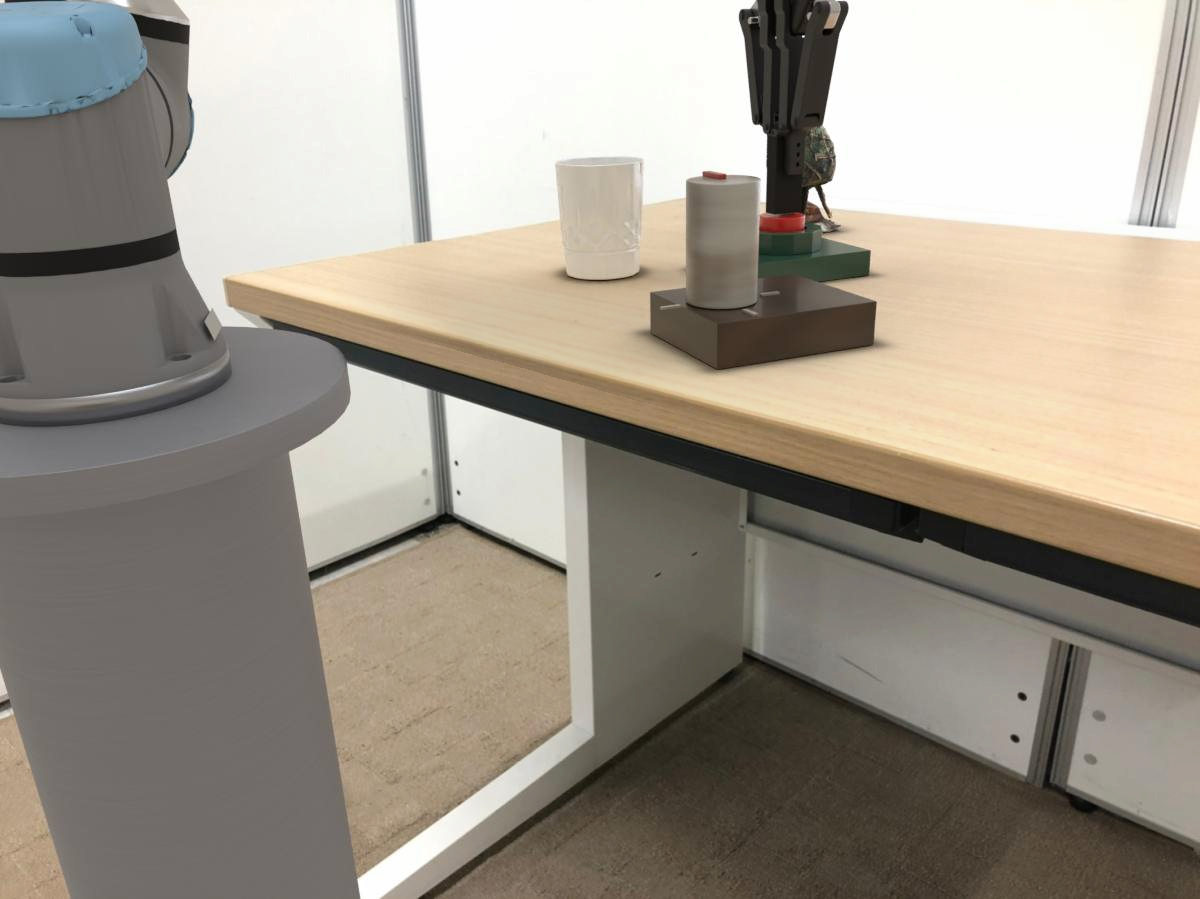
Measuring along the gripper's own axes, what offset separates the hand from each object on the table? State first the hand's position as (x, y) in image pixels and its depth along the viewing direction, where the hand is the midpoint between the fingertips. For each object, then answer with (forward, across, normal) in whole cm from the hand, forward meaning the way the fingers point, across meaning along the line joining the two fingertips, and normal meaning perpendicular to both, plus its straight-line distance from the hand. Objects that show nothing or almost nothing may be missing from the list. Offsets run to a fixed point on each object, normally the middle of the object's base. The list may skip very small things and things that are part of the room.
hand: (783, 211), depth 87 cm
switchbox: (+5, 0, 0) cm, 5 cm away
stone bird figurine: (+6, +18, -14) cm, 23 cm away
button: (+2, 0, 0) cm, 2 cm away
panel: (+5, -18, +13) cm, 23 cm away
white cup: (+6, +8, +14) cm, 17 cm away
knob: (+2, -18, +16) cm, 24 cm away
